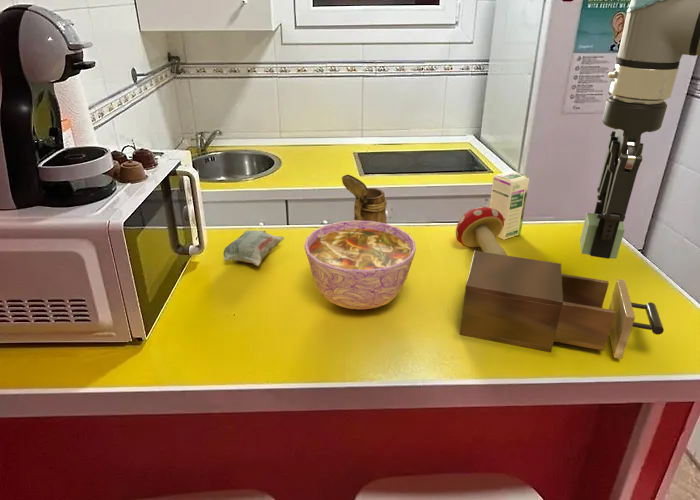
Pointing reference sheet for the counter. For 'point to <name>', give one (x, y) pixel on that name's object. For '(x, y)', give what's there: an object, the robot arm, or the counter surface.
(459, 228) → the decorative mushroom
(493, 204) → the syrup box
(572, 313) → the drawer
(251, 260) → the packaged food
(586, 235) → the block
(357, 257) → the bowl of food
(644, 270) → the counter surface
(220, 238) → the counter surface
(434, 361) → the counter surface
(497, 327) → the cabinet
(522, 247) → the counter surface
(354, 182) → the wooden mug
